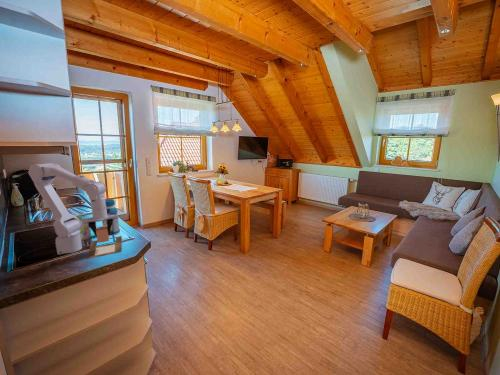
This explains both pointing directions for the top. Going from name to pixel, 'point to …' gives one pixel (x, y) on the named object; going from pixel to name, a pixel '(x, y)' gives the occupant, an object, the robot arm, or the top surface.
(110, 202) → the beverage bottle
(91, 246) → the walnut pocket board
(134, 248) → the top surface
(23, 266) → the top surface
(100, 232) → the terracotta block
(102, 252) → the cream square
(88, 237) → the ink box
